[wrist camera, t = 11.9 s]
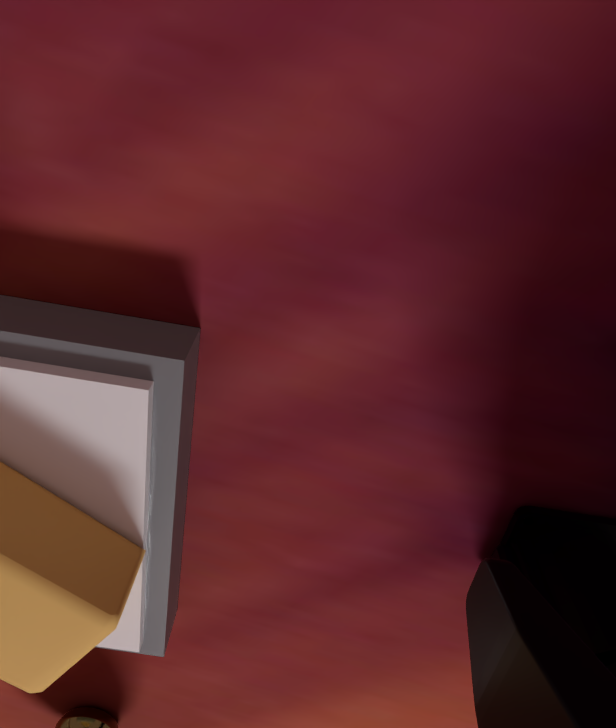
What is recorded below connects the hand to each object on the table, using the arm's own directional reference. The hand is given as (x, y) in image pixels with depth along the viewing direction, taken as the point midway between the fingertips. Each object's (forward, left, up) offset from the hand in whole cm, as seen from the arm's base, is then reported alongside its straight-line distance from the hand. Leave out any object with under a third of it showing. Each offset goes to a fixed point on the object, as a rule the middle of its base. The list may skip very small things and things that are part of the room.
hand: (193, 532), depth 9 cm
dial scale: (+9, +11, -13) cm, 19 cm away
